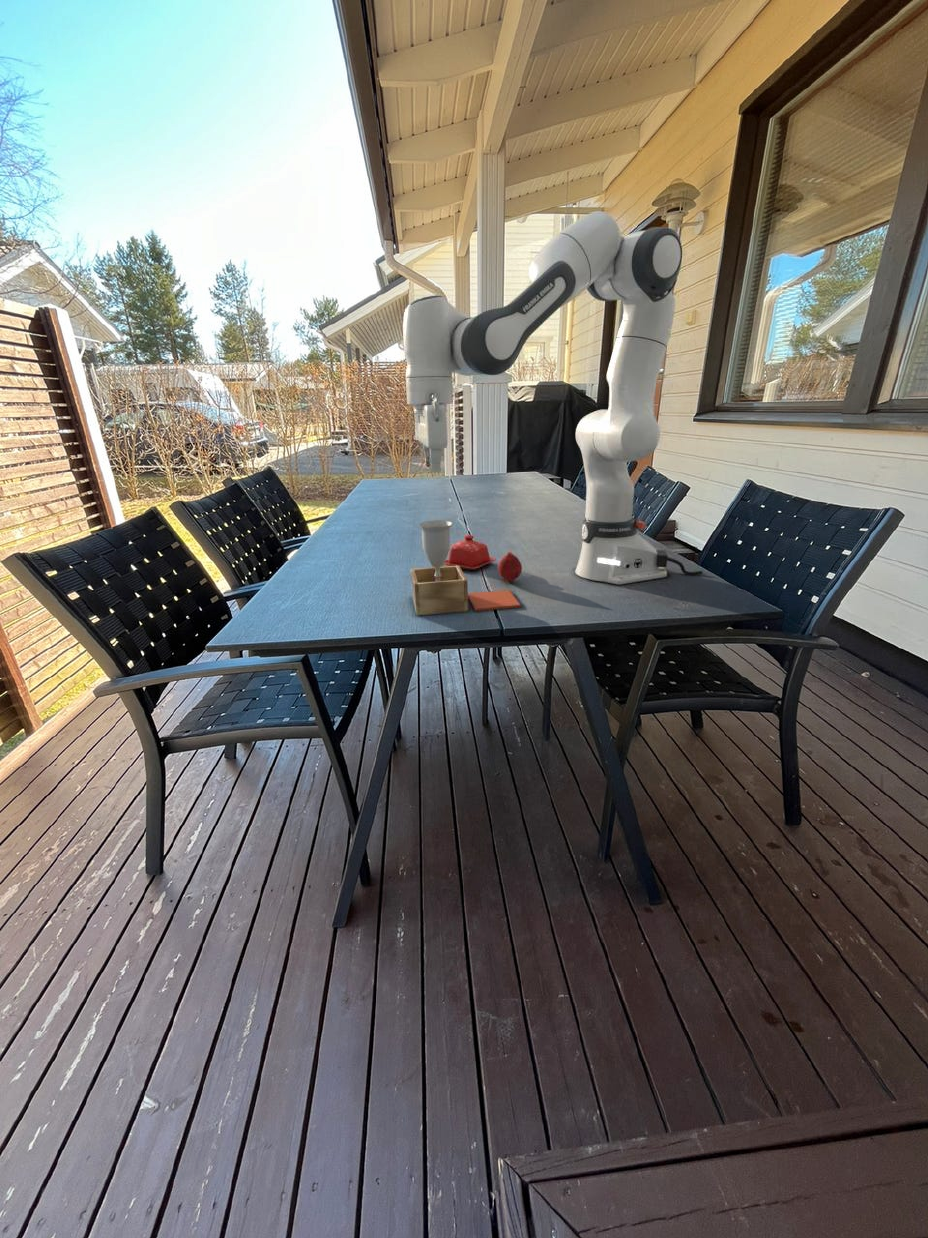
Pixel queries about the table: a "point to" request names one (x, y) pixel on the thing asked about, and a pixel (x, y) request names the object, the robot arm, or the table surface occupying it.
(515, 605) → the coaster
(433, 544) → the chalice
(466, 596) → the open wooden box
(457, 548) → the butter dish
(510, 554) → the onion
